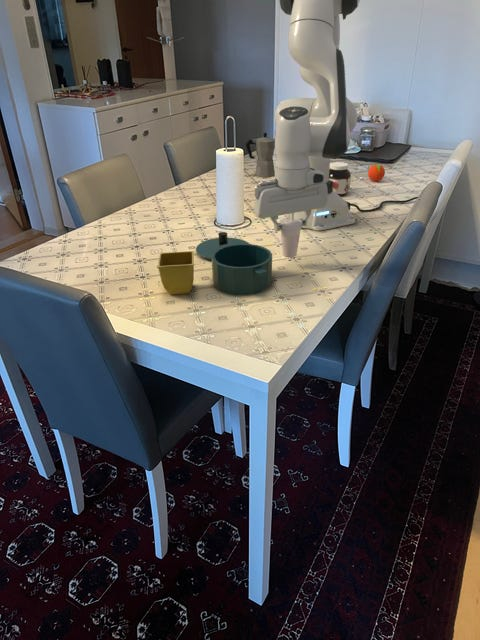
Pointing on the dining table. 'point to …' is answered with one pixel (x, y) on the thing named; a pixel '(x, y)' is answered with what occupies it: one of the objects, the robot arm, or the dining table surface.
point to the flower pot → (177, 271)
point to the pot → (242, 268)
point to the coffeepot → (263, 155)
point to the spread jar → (340, 177)
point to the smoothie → (290, 235)
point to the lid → (216, 245)
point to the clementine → (376, 172)
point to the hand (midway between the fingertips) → (290, 227)
